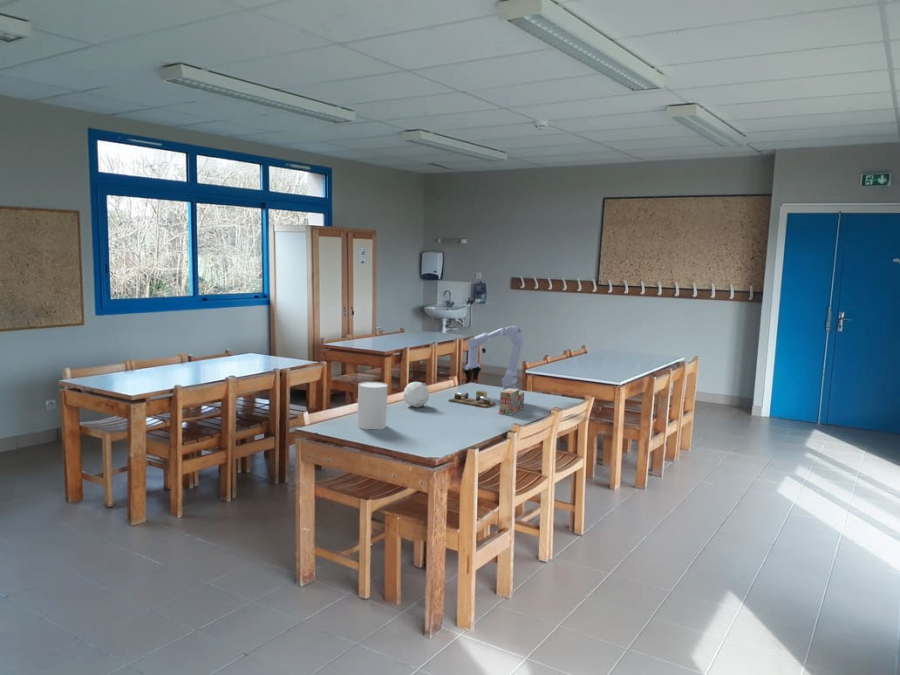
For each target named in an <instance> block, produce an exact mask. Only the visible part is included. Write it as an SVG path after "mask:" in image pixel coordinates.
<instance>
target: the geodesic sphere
mask: <svg viewBox="0 0 900 675" xmlns="http://www.w3.org/2000/svg"><path fill="white" fill-rule="evenodd" d="M403 399H404V401H405V403H407V404H408V405H409V406H410V407H413V408H420V407H424V406H425V405H426V404H427V403H428V401H429V399H430V390H429V388H428V386H427V383H425V382H420V381H413V382H409V383H408V384H407V386H405V388H404V389H403Z"/></svg>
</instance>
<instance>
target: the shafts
mask: <svg viewBox="0 0 900 675" xmlns="http://www.w3.org/2000/svg"><path fill="white" fill-rule="evenodd" d="M455 395H458V396H460V397H465V399H468V398H469V393H468V392H465V393H463V392H457V391H456V392H454V396H455ZM475 399H476V400H477V401H479V400H483V401H484V400H486V401H489V402H491V398H490V397H488V396H487V397H481V396H480V395H477V397H476V396H475Z"/></svg>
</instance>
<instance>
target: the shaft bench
mask: <svg viewBox="0 0 900 675" xmlns="http://www.w3.org/2000/svg"><path fill="white" fill-rule="evenodd" d="M448 402H450V403H456V404H462V405H466V406H467V405H468V406H473V407H479V408H485V409H487V408H490V407H492V406H496V402H494V401H490V402H489V401H486V400H484V401H483V400H479V401H477V400H476V398H471V397H470V398H469V397H468V399H465V397H460V396H458V395H455V394H454V397H453V398H450V399H448Z"/></svg>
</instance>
